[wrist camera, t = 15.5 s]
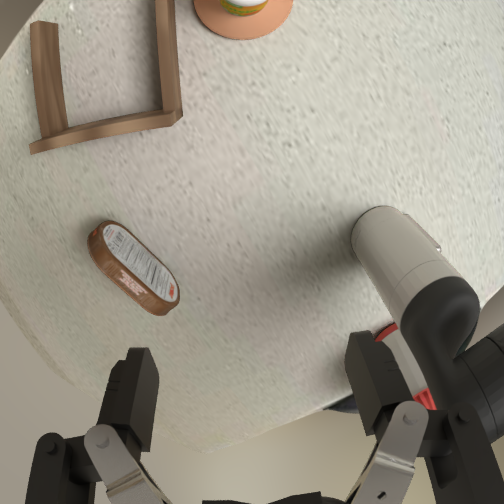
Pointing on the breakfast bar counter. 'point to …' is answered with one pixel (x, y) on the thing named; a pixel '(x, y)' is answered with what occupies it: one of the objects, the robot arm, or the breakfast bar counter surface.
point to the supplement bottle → (243, 7)
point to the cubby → (60, 135)
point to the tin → (133, 268)
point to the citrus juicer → (407, 366)
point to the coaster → (243, 19)
